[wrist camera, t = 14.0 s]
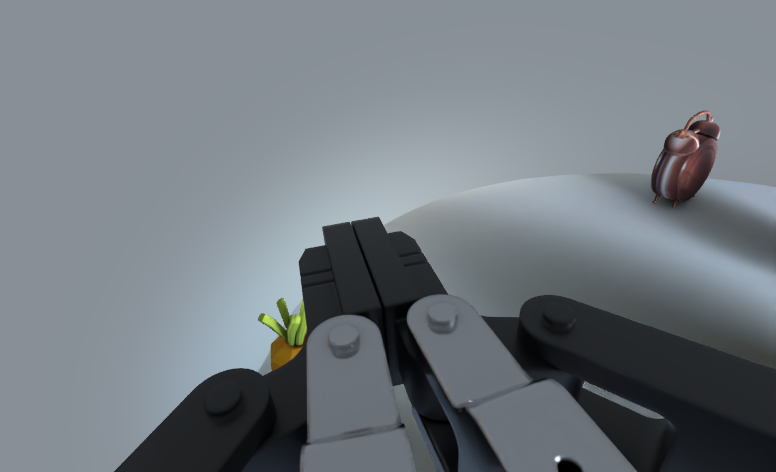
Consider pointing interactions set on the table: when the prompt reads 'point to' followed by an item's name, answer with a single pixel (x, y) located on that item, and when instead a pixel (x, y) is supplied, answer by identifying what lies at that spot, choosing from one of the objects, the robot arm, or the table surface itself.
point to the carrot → (286, 334)
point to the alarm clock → (686, 160)
